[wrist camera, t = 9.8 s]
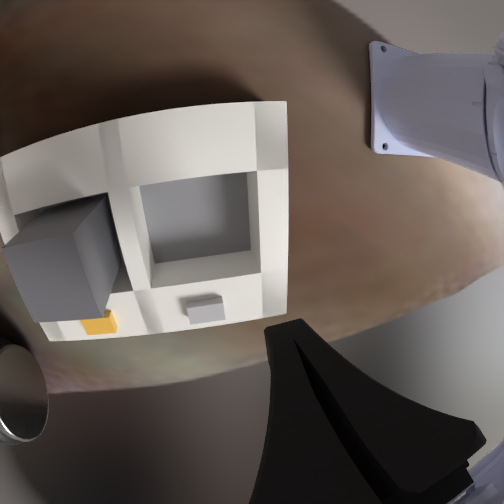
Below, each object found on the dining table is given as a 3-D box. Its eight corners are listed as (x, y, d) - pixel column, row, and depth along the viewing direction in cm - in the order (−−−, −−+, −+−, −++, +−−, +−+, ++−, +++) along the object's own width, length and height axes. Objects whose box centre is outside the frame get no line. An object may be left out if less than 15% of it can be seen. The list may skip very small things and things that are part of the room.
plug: (110, 190, 14) (72, 233, 9) (124, 253, 16) (102, 318, 11) (52, 203, 13) (1, 248, 8) (69, 261, 15) (34, 322, 10)
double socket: (266, 103, 14) (290, 100, 11) (271, 282, 20) (289, 319, 17) (14, 153, 12) (-23, 167, 8) (63, 309, 18) (47, 347, 14)
